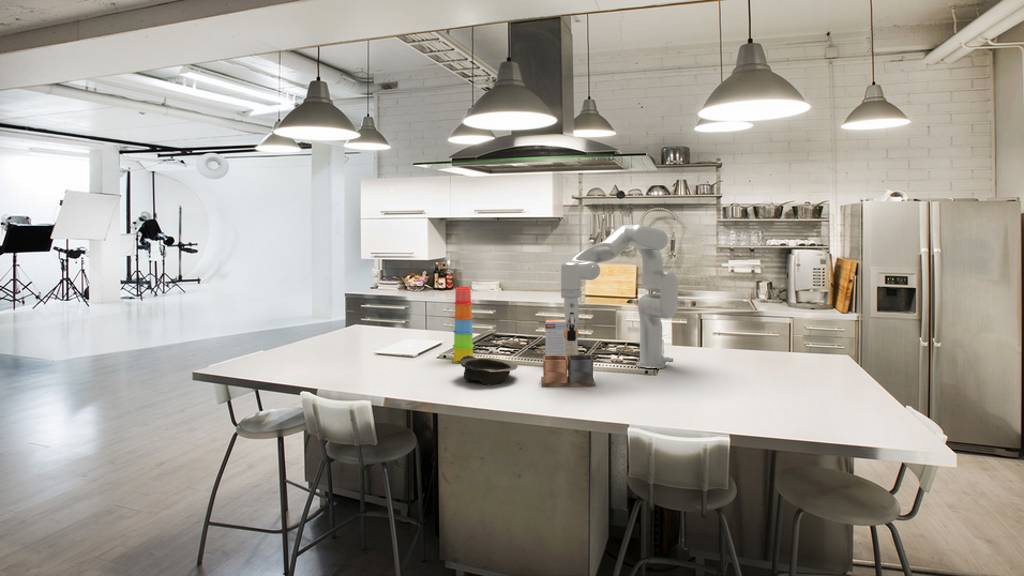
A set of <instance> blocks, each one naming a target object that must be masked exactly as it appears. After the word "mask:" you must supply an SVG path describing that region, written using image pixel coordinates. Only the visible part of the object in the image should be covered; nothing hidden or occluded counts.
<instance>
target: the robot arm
mask: <svg viewBox="0 0 1024 576" xmlns="http://www.w3.org/2000/svg"><path fill="white" fill-rule="evenodd" d="M668 242H669V238H668V234H667V233H666V232H665V231H664V230H663V229H660V228H657V227H651V226H649V225H646V224H645V225H644V224H638V223H637V224H636V223H635V224H633V223H632V224H621V225H620V226H619V227H618V228H616V229H615V230H614V231H613V232H612V233H611V234H609V235H608V236H607V237H606V238H605V239H604V240H602V241H601V242H599V243H597V244H594V245H593V246H591V247H589V248H587V249H584V250H583V251H581V252H580V253H578V254H577V255H576V256H574V257H573V258H572V259H571V260H570V261H565V262H562V263H561V265H560V286H561V287H560V296H561V298H562V299H563V307H564V308H563V312H564V320H565V321H566V327H567V326H568V331H567V340H568V341H576V331H575V322H577V324H579V322H580V319H579V318H580V317H579V316H580V315H579V299H580V298H581V281H582V280H583V281H584V280H587V281H593V280H596V279H597V278H598V277H599V276H600V274H601V268H600V265H599V263H603V262H605V263H606V262H609V261H611V260H614V259H616V258H617V257H619V255H620V254H622V253H623V252H624V251H625V250H626V249H627V248H628V247H630V246H633V247H634V248H635V249H636V250H637V251H638V252H639V254H640V256H641V260H642V265H641V266H642V270H641V271H642V273H641V274H642V275H641V282H642V283H641V284H642V287H643V289H644V290H645V291H648V292H652V293H653V292H655V293H660V294H654V293H653V294H652V293H650V294H649V293H648V294H644V295H642V296H641V297H640V298H638V302H637V310H638V315H639V361H638V360H637V361H636V364H635V366H636V365H637V367H638V366H640V367H649V366H651V367H655V368H657V369H658V370H659V369H664V368H666V365H667V364H666V363H674V357H669V356H665V357H664V355H663V323H662V321H661V319H665V320H667V319H668V320H669V319H672V318H674V317H675V315H677V310H678V303H679V301H678V297H679V279H678V277H677V275H676V273H674V272H673V271H672V270H668V269H667V270H664V267H663V264H664V263H663V260H664V259H663V256H662V252H661V250H664V249H665V248H666V247H667V245H668ZM640 367H639V368H640ZM657 369H656V370H657Z"/></svg>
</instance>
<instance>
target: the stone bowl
mask: <svg viewBox="0 0 1024 576" xmlns="http://www.w3.org/2000/svg"><path fill="white" fill-rule="evenodd" d="M456 362H458V363H457V364H460V365H461V367H463V368H464V372H463V379H464V381H466V382H476V381H480V382H481V384H482V385H485V384H487V386H489V385H488V384H491V385H493V384H494V385H497V383H498V384H500V383H502V382H506V380H507V379H508V377H509V375H510V373H511V371H515V370H517V368H518V367H519V366H518V364H517V363H515V362H514V363H513V362H512V361H508V360H505V359H500V358H495V357H494V358H493V357H480V358H478V357H475V356H474V355H473V356H469V355H468V356H464V357H463V358H462V359H461V360H460V361H456Z"/></svg>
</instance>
